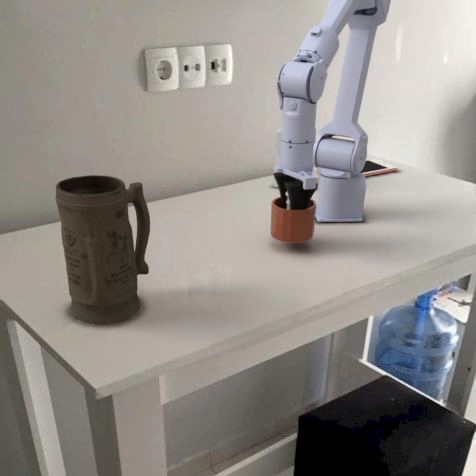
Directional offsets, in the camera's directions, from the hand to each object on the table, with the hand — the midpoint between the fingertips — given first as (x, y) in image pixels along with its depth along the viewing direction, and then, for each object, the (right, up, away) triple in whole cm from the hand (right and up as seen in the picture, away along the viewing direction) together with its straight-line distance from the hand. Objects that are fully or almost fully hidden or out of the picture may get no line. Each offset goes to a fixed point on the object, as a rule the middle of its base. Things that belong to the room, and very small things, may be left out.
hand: (293, 216), depth 117 cm
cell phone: (+20, +24, +42) cm, 53 cm away
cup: (0, -3, +2) cm, 3 cm away
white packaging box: (+3, +17, +34) cm, 38 cm away
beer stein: (-30, -19, -16) cm, 39 cm away
